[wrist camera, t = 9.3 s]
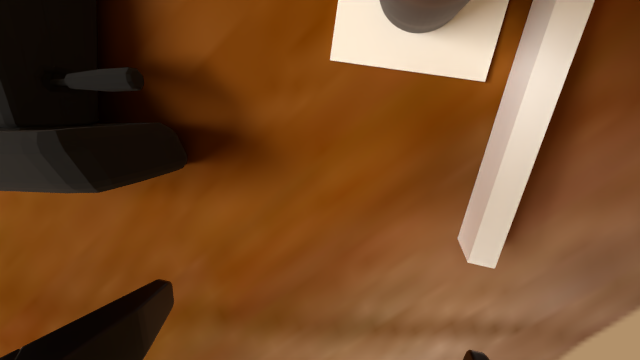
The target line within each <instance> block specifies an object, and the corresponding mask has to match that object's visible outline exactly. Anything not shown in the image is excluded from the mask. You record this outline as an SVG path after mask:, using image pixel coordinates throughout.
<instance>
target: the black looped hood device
mask: <svg viewBox="0 0 640 360" xmlns="http://www.w3.org/2000/svg"><path fill="white" fill-rule="evenodd" d="M143 85H144V80H143V76H142V74H141V73H140V72H139V71H138V70H137V68H130V67H125V68H110V69H97V18H96V0H0V191H23V192H50V193H99V192H103V191H107V190H111V189H115V188H118V187H122V186H126V185H130V184H133V183H137V182H141V181H144V180H147V179H150V178H154V177H157V176H160V175H164V174H167V173H170V172H173V171H176V170H179V169H181V168H183V167H184V166H185V164H186V162H187V154H186V152H185V150H184V148H183V146H182V144H181V142H180V140H179V138H178V136H177V134H176V133H175V132H174V131H173V130H172V129H171V128H169V127H167V126H165V125H164V124H162V123H160V122H159V123H112V124H95V123H97V122H98V121H99V120H98V91H110V92H117V91H138V90H141V89H142V87H143Z"/></svg>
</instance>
